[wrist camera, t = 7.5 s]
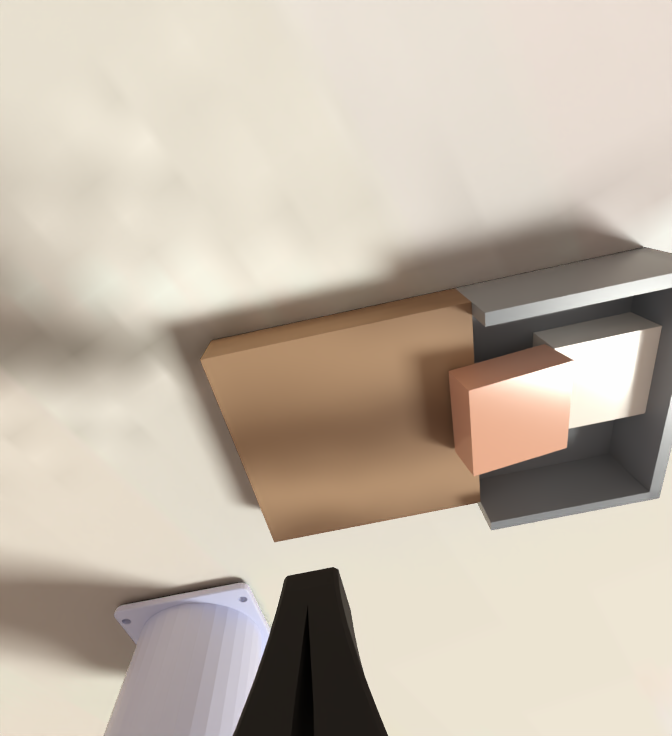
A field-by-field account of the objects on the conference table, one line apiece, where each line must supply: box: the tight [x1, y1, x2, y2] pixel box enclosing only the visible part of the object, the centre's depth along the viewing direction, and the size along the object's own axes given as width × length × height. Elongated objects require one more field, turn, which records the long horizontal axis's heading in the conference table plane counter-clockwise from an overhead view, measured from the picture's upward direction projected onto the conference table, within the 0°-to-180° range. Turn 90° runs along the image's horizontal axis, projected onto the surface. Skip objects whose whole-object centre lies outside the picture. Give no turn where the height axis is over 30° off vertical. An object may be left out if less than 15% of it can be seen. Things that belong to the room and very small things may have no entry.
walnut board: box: [200, 288, 480, 542], centre depth 17 cm, size 10×10×2 cm
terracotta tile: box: [448, 344, 574, 476], centre depth 15 cm, size 4×4×2 cm
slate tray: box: [455, 247, 672, 530], centre depth 16 cm, size 10×8×3 cm
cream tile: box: [533, 312, 662, 429], centre depth 16 cm, size 4×4×2 cm
